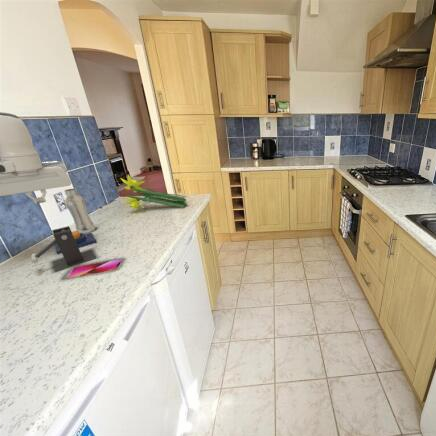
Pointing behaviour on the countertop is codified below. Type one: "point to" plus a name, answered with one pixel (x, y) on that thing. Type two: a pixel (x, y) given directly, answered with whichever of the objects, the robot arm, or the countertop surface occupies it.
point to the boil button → (76, 234)
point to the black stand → (69, 250)
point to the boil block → (80, 241)
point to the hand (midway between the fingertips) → (40, 202)
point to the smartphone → (95, 268)
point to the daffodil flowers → (151, 195)
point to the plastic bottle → (78, 211)
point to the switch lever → (43, 250)
